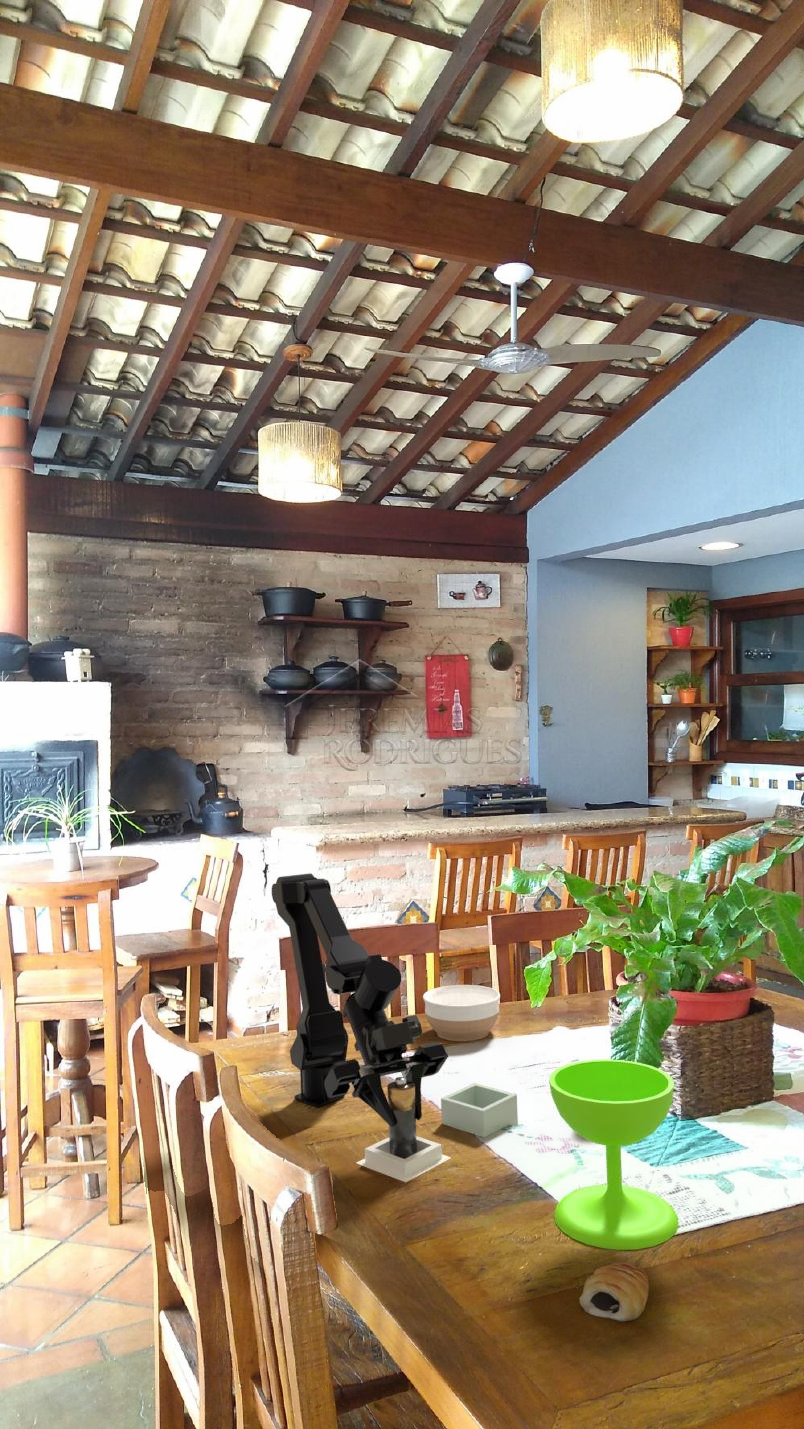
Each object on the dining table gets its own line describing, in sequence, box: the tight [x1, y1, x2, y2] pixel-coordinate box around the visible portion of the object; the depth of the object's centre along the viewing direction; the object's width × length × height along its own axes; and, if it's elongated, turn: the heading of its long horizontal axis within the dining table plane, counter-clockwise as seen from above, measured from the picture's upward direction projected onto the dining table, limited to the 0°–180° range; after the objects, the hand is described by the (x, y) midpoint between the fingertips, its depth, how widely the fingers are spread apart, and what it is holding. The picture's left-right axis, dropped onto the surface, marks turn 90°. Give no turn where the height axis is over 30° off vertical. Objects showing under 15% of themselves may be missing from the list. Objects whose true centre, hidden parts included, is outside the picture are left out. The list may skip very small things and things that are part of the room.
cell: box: [386, 1076, 417, 1159], centre depth 153 cm, size 4×4×12 cm
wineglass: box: [548, 1059, 680, 1251], centre depth 136 cm, size 16×16×18 cm
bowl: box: [422, 984, 501, 1042], centre depth 215 cm, size 16×16×8 cm
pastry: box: [579, 1261, 649, 1323], centre depth 117 cm, size 9×7×4 cm
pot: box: [440, 1082, 519, 1138], centre depth 166 cm, size 9×9×5 cm
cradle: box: [355, 1135, 452, 1183], centre depth 153 cm, size 10×10×3 cm
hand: (406, 1122), depth 152 cm, fingers closed on cell, 4 cm apart
